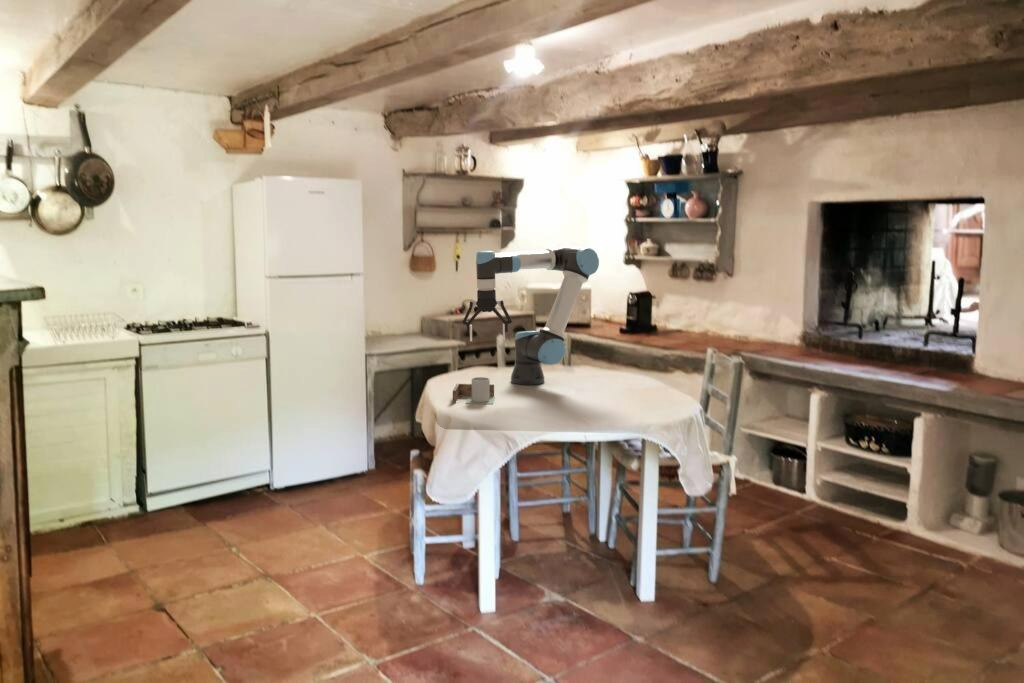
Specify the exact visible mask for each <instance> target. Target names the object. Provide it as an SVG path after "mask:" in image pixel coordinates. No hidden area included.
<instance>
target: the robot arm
mask: <svg viewBox="0 0 1024 683" xmlns="http://www.w3.org/2000/svg"><path fill="white" fill-rule="evenodd" d="M475 255H476V259H475V264H476V266H475V267H476V289H477V291H476V293H477V294H476V296H477V300H476V301H473V300H471V301H469V307H468V309H467V312H466V314H465V316H464V317H463V320H462V322H461V323H462V324H463V325H465V326H466V333H467V334H469V341H470V342H473V325H472V323H473V321H474V320H475V319H476V318H477V316H478V315H479V314H480V313H481V312H482V313H491V312H493V313H494V314H495V316H497V317H498V318H499V320H501V322H503V323H502V340H503V342H504V341H506V333H508V331H509V329H508V328H509V326H508V325H510V324H511V323H513V319H512V317H511V315H510V314H509V312H508V310H507V308H506V306H505V303H504V300H502V299H501V300H499V301H497V298H496V297H497V296H496V291H497V290H495V288H496V275H499V274H507V273H508V274H509V273H510V274H512V273H518V272H519V271H520V270H534V269H536V270H537V269H546V270H547V271H560V272H562V273H563V276H564V277H563V280H562V282H561V285H560V287H559V290H558V292H557V295H556V298H555V300H554V302H553V305H552V308H551V310H550V313H549V315H548V319H547V320H546V323H545V325H544V327H542V328H540V329H539V330H526V331H518V332H516V333H515V335H514V336H515V338H514V367H513V369H512V372H511V375H510V382H511V383H513V384H516V385H524V386H526V385H527V386H528V385H529V386H530V385H531V386H532V385H540V384H544V383H545V375H544V371H543V368H542V364H543V365H548V366H549V365H550V366H553V365H557V364H558V363H560V362H561V361H562V360H563V358H565V354H566V351H567V350H566V349H567V348H566V344H565V341H566V337H565V336H564V333H565V330H566V328H567V325H568V322H569V320H570V317H571V315H572V312H573V310H574V306H575V305H576V303H577V302H576V301H577V299H578V297H579V294H580V291H581V289H582V287H583V284H585V283H587V282H588V280H589V277H590V276H591V275H594V274H595V273H596V272H597V271H598V269H599V266H600V258H599V256H598V253H597V252H596V251H595V250H594V249H593V248H591V247H586V246H569V245H568V246H559V247H555V248H554V247H553V248H546V249H545V250H541V251H540V250H539V251H514V252H495V251H493V250H479V251H477V252H476V254H475ZM497 305H498V306H499V307H500V308H501V310H502V311H503V312H502V313H503V314H504V316H505V317H506V319H507V320H506V319H505V317H504V316H503V315H502V314H501V312H499V310H498V309H497V308H496V306H497ZM475 306H477V307H478V308H477V310H476V311H475V312H474V313H473V315H471V317H470V319H469V320H468V318H469V316H470V314H471V311H472V309H473V308H474V307H475ZM467 320H468V321H467Z"/></svg>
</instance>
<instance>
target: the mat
mask: <svg viewBox="0 0 1024 683" xmlns="http://www.w3.org/2000/svg"><path fill="white" fill-rule="evenodd" d="M495 399H496V397H495V396H494V397H489V401H488V402H483V403H478V402H473V401H472V396H467V399H466V401H465V403H467V404H468V405H469V404H470V405H471V404H472V405H493V404H494V402H495ZM467 404H466V405H467Z"/></svg>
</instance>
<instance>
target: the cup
mask: <svg viewBox="0 0 1024 683" xmlns="http://www.w3.org/2000/svg"><path fill="white" fill-rule="evenodd" d="M471 384H472V401H473V402H478V403H483V402H488V401H489V389H490V384H491V383H490V378H489V377H483V376H477V377H475V376H474V377H472V378H471Z"/></svg>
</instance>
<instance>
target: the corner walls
mask: <svg viewBox="0 0 1024 683" xmlns="http://www.w3.org/2000/svg"><path fill="white" fill-rule="evenodd" d="M468 396H472V383H456V384H455V386H454V387H453V390H452V404H456V403H457V402H456V401H458V400H459V398H460V397H468ZM458 397H459V398H458ZM489 397H495V384H491V383H490V389H489ZM457 399H458V400H457Z"/></svg>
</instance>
